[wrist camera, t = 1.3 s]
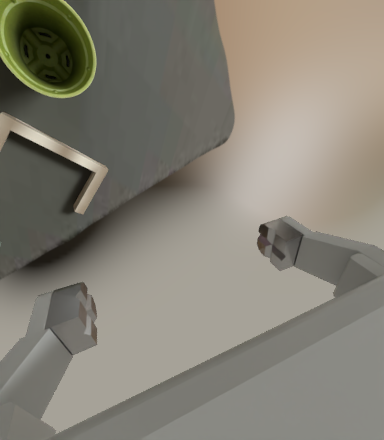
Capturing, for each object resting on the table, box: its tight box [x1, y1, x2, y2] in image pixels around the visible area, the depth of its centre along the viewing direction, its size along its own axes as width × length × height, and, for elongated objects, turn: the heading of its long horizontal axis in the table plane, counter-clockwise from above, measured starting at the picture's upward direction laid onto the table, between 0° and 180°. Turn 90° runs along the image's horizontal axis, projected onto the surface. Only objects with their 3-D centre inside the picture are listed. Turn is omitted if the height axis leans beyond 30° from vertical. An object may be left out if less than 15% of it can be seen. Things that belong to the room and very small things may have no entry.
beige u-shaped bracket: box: [0, 111, 108, 214], centre depth 34 cm, size 15×10×2 cm, turn 50°
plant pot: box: [0, 0, 96, 98], centre depth 26 cm, size 9×9×9 cm
